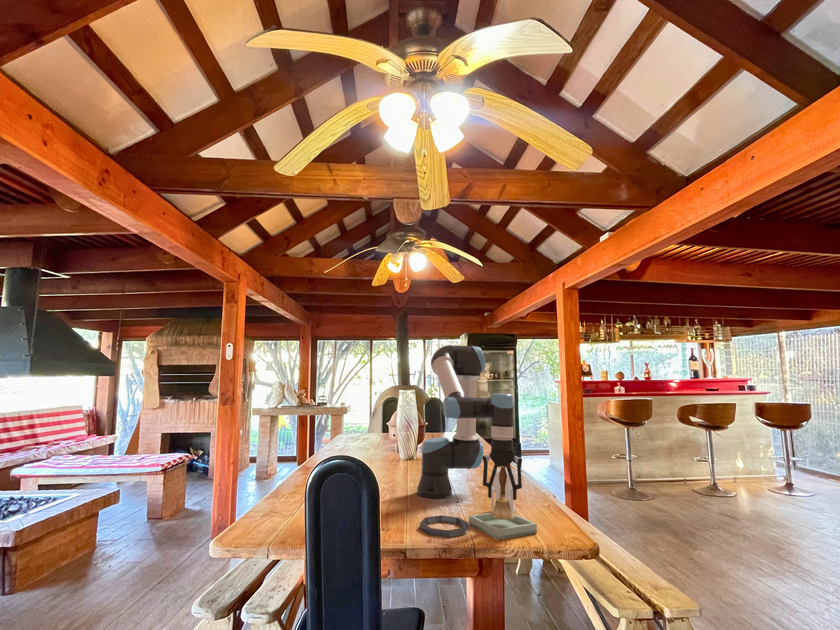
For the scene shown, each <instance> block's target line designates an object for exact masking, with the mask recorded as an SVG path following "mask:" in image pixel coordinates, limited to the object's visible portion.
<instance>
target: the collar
mask: <svg viewBox="0 0 840 630" xmlns="http://www.w3.org/2000/svg"><path fill="white" fill-rule="evenodd" d="M434 523H447V524H455V525H458V526H460V527H459V528H454V529H449V530H448V529H442V528H441V529H439V528H433V527H430V526H429V525H430V524H434ZM469 528H470V525H469V521H466V520H464V519H463V518H460V517H458V516H457V517H456V516H449V515H434V516H427V517H424V518H423V519H422V520H421V521H420V523H419V530H421V531H422V532H424V533H425V534H426V535H428V536H432V537H433V536H434V537H441V538H454V537H460V536H465V535H466V534H467V532H468V531H469Z"/></svg>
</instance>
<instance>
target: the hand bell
mask: <svg viewBox="0 0 840 630" xmlns="http://www.w3.org/2000/svg"><path fill="white" fill-rule="evenodd" d="M500 468H501V470H500V474H499V481H500V486H501V488H500V497H499V498H497V499H496V498H495V502H494V509H492V511H491V512H489V513H490V516H491V517H493V518H496V519H502V520H510V519H514V518H515V516H514V514H515V513H512V511H511V509H510V504H509V500H508V499H507V498H505V485H506V481H507V474H506V470H505V468H506V467H503V466H501V467H500Z"/></svg>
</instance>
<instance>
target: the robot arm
mask: <svg viewBox="0 0 840 630" xmlns="http://www.w3.org/2000/svg"><path fill="white" fill-rule="evenodd" d="M430 360H431V361H430V367H431V369H432V371H433V373H434V374H435V375H436V377H437V379H438V382H439V384H440V387H441V390H442V393H443V396H444V398H443V401H442V413H443V416H444V417H445V418H447V419H456V432H455V434H454V435H453V436H452V440H449V438H448V437H433V438H429V439H426V440H424V441H423V442H422V446H421V475H420V479H419V482H418V485H417V487H416V488H417V489H416V494H417V495H418V496H419V497H422V498H427V499H444V498H445V499H446V498H449V496H450V497H451V496H452V495H453V494H452V493H453V491H452V490H453V489H452V485H451V482H450V478H449V470H450V469H451V470H453V469H454V470H455V469H457V470H459V469H460V470H461V469H464V470H465V469H467V470H472V469H477V468H479V467H480V466H481V464H482V462H483V471H482V473H483V474H482V486H483V487H486V488H487V497H488V499H491V501H490V502H491V510H493V509H494V507H495V492H494V487H492V484H493V481H494V477H495V474H496V471H497V468H501V467H505V468H507V471H508V474H509V477H510V481H511V484H512V488H513V489H511V511H513V500H514V501H516V500H517V492H518V490H520V489H522V488H523V486H522V485H523V484H522V483H523V482H522V471H521V467H522V466H521V465H522V463H523V458H522V457H518V456H517V455H515V453H514V440H513V438H514V398H513V395H512V394H511V393H500V392H499V393H492V394H491V397H489V396H487V397H477V391H478V390H477V385H478V380H479V379H480V377H481V373H483V372H484V371H485V368H486V357H485V354H484V351H483V350H482V348H481V347H479V346H474V345H452V344H448V345H443V346H441V347H440V348H438V349H437V350H436V351H435V352H434V353H433V355H432V357H431V359H430ZM477 419H490V420H491V423H490V425H491V426H490V430H491V431H490V433H491V434H490V436H491V440H490V449H491V450H490V453H489V454H487V455H485V454H484V445H483V442H482V441H480V437H479V436H478V435H477V433H476V432H477V431H476V430H477V425H476V424H477ZM490 460H491V461H492V462H493V463H494V465H493V468H492V471H491V475H490V478H489V481H488V466H489V465H488V464H489V462H490ZM513 461H515V464H516V470H517V475H518V484H517V485H516V484H515V480H514V477H513V473H512V470H511V469H512V466H511V464H512V463H513Z"/></svg>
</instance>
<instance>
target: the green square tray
mask: <svg viewBox="0 0 840 630" xmlns="http://www.w3.org/2000/svg"><path fill="white" fill-rule="evenodd" d="M490 513H491V512H486V513H478V514H472V515H468V517H469V518H468V523H469V527H472V528H474V529H475V530H478V531H480V532H482V533H483V534H485V535H487V536H489V535H490V536H489V537H491V538H492V539H494V538H495V539H494V540H496V539H497V541H501V540H500V539H503V540H508V539H512V538H518V537H523V536H529V534H530V535H535V533H536V534H537V533H538V531H537V530H538V528H537V527H538V526H537V525H538V524H537V523H536V522H534V521H532V520H529V519H527V518H524V517H522V516H520V515H517V514H516V513H513V514H514V516H515V518H514V519H510V520H502V519H496V518H493V517H491V516H490Z"/></svg>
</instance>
